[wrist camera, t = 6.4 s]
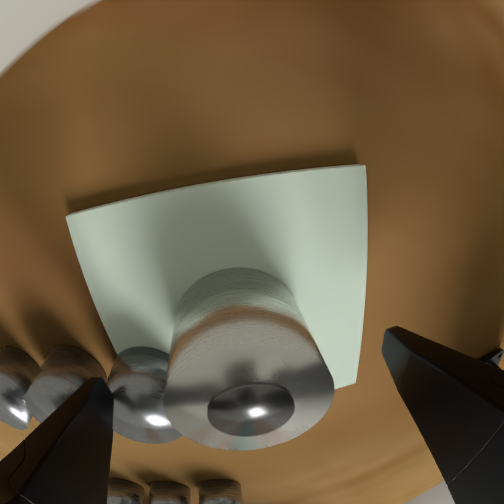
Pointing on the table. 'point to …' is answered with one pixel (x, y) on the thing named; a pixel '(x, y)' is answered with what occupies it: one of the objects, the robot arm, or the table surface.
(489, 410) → the robot arm
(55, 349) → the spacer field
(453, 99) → the table surface
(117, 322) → the sage mat
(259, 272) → the stepped steel cylinder
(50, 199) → the table surface
